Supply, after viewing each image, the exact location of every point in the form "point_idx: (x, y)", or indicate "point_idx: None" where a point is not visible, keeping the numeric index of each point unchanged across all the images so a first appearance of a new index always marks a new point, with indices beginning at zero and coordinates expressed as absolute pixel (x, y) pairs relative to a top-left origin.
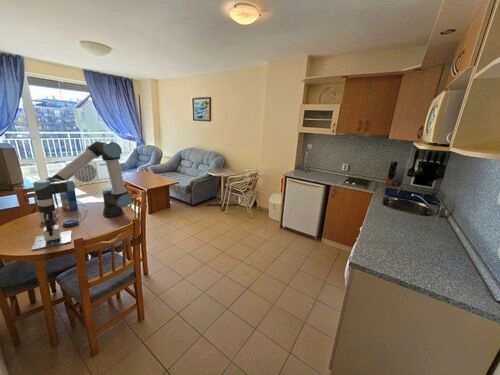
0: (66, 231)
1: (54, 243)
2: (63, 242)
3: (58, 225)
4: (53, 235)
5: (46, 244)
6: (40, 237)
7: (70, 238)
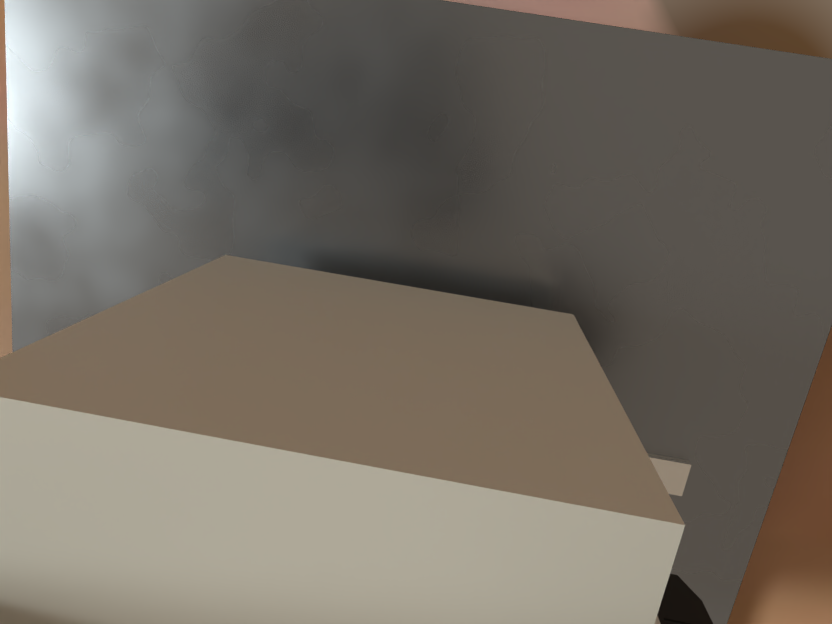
0: (23, 76)
1: (695, 434)
2: (821, 251)
3: (109, 417)
4: None
5: None
6: None
7: (669, 43)
